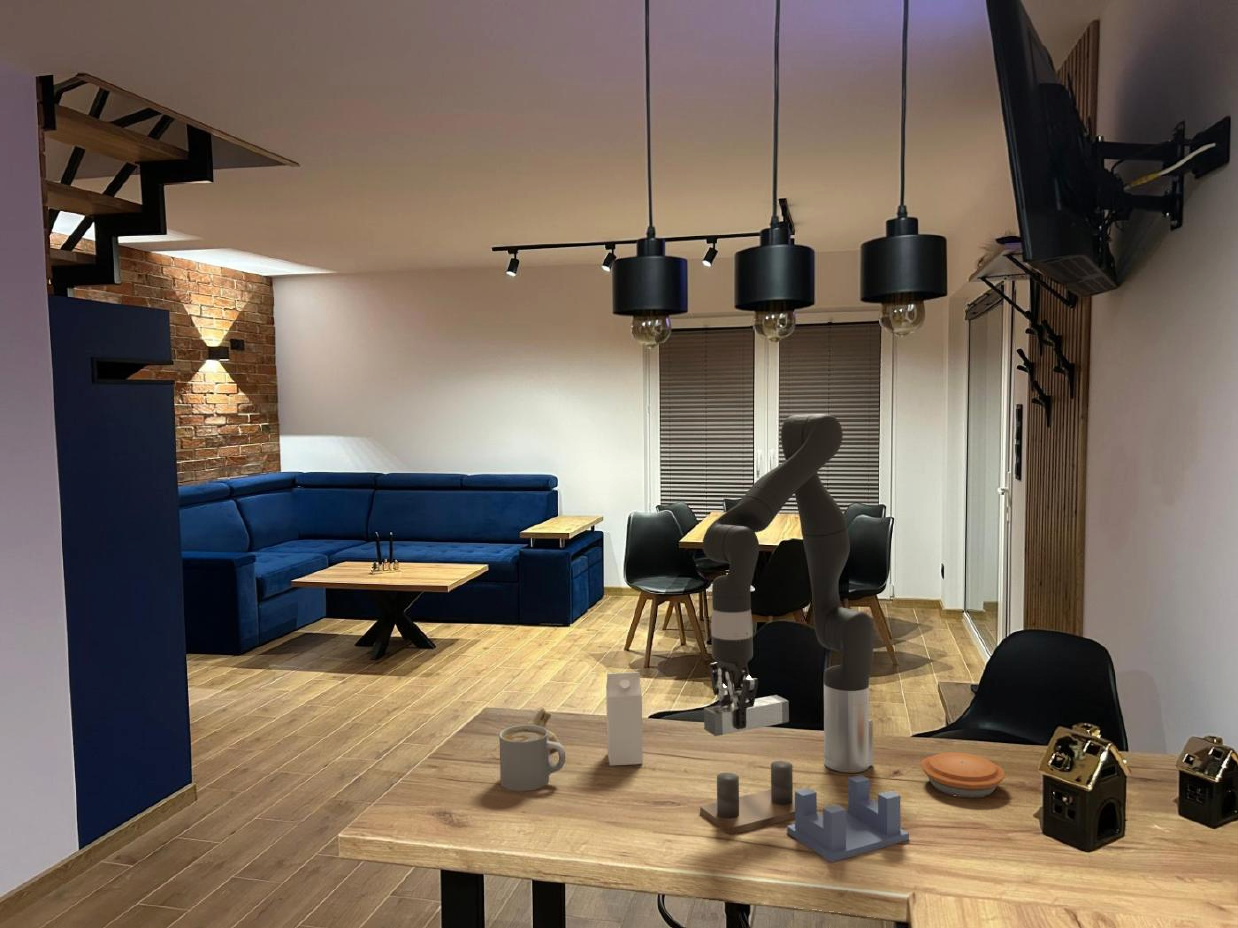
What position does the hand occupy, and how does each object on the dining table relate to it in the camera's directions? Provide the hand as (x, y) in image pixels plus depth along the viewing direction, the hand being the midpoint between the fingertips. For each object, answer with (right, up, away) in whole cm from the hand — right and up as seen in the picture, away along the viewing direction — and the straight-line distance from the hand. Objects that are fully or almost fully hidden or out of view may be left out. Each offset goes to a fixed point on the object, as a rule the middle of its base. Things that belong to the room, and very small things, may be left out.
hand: (733, 723), depth 163 cm
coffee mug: (-39, -17, +17) cm, 46 cm away
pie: (+47, -16, +11) cm, 51 cm away
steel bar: (+3, -1, +1) cm, 3 cm away
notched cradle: (+19, -17, -9) cm, 27 cm away
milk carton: (-20, -16, +28) cm, 38 cm away
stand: (+4, -17, +1) cm, 17 cm away
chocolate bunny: (-38, -16, +34) cm, 53 cm away
